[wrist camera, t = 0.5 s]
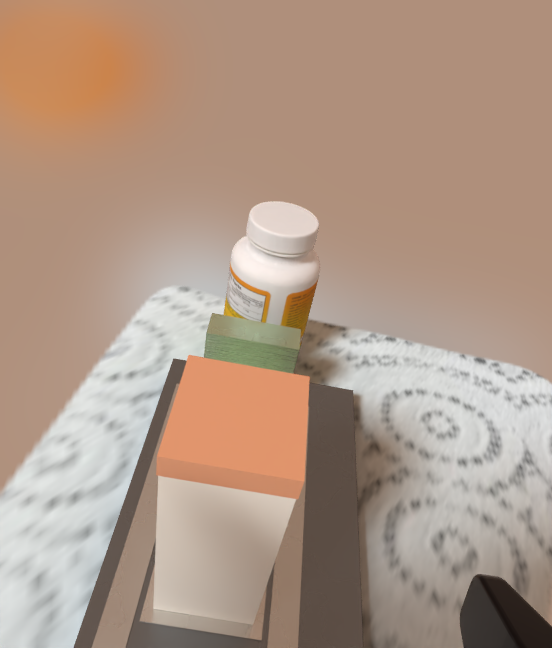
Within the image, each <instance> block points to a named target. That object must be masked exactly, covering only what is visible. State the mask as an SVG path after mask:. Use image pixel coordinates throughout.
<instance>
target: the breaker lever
mask: <svg viewBox="0 0 552 648" xmlns="http://www.w3.org/2000/svg"><path fill="white" fill-rule="evenodd" d="M309 379H310V377H309V376H303V375H298V374H292V373H287V372H281V371H275V370H270V369H264V368H259V367H253V366H248V365H242V364H236V363H231V362H225V361H220V360H214V359H208V358H203V357H197V356H192V355H189V356H188V359H187V362H186V365H185V368H184V372H183V375H182V378H181V381H180V384H179V387H178V391H177V394H176V397H175V400H174V403H173V407H172V410H171V413H170V416H169V419H168V422H167V426H166V429H165V432H164V435H163V438H162V441H161V445H160V448H159V451H158V454H157V465H156V475H157V476H158V497H157V523H156V549H155V575H154V601H153V609H158V610H164V611H170V612H177V613H183V614H189V615H195V616H202V617H208V618H214V619H220V620H227V621H233V622H239V623H246V624H252V625H253V623H254V621H255V618H256V615H257V612H258V609H259V606H260V603H261V600H262V597H263V594H264V591H265V588H266V586H267V583H268V580H269V577H270V574H271V571H272V568H273V565H274V562H275V559H276V556H277V553H278V551H279V548H280V545H281V542H282V539H283V536H284V533H285V530H286V527H287V524H288V521H289V518H290V516H291V513H292V510H293V507H294V504H295V501H296V499H299V496H300V493H301V490H302V487H303V484H304V481H305V461H306V440H307V420H308V400H309Z"/></svg>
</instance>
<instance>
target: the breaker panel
mask: <svg viewBox="0 0 552 648" xmlns="http://www.w3.org/2000/svg"><path fill="white" fill-rule="evenodd" d="M300 336H301V329H297V328H291V327H286V326H280V325H275V324H269V323H264V322H258V321H253V320H247V319H242V318H236V317H231V316H225V315H220V314H215V313H212V316H211V319H210V323H209V326H208V330H207V334H206V343H205V352H204V358H208V359H214V360H220V361H225V362H231V363H236V364H242V365H248V366H253V367H259V368H264V369H270V370H275V371H281V372H287V373H292V374H293V372H294V369H295V365H296V361H297V357H298V353H299V350H300ZM186 362H187V361H185V360H179V359H173V362H172V364H171V367H170V370H169V373H168V376H167V379H166V382H165V385H164V388H163V391H162V393H161V396H160V399H159V402H158V405H157V408H156V411H155V414H154V417H153V419H152V422H151V425H150V428H149V431H148V434H147V437H146V440H145V443H144V445H143V448H142V451H141V454H140V457H139V460H138V463H137V466H136V469H135V472H134V474H133V477H132V480H131V483H130V486H129V489H128V492H127V495H126V498H125V500H124V503H123V506H122V509H121V512H120V515H119V518H118V521H117V524H116V526H115V529H114V532H113V535H112V538H111V541H110V544H109V547H108V550H107V553H106V555H105V558H104V561H103V564H102V567H101V570H100V573H99V576H98V579H97V581H96V584H95V587H94V590H93V593H92V596H91V599H90V602H89V605H88V608H87V610H86V613H85V616H84V619H83V622H82V625H81V628H80V631H79V634H78V636H77V639H76V642H75V645H74V648H363V631H362V606H361V581H360V556H359V531H358V506H357V481H356V456H355V431H354V406H353V390H347V389H342V388H336V387H330V386H325V385H319V384H314V383H309V400H308V420H307V440H306V461H305V481H304V484H303V487H302V490H301V493H300V496H299V499H296V501H295V504H294V507H293V510H292V513H291V516H290V518H289V521H288V524H287V527H286V530H285V533H284V536H283V539H282V542H281V545H280V548H279V551H278V553H277V556H276V559H275V562H274V565H273V568H272V571H271V574H270V577H269V580H268V583H267V586H266V588H265V591H264V594H263V597H262V600H261V603H260V606H259V609H258V612H257V615H256V618H255V621H254V623H253V625H252V624H246V623H239V622H233V621H227V620H220V619H214V618H208V617H202V616H195V615H189V614H183V613H177V612H170V611H164V610H158V609H153V601H154V575H155V549H156V523H157V497H158V476H157V475H156V465H157V454H158V451H159V448H160V445H161V441H162V438H163V435H164V432H165V429H166V426H167V422H168V419H169V416H170V413H171V410H172V407H173V403H174V400H175V397H176V394H177V391H178V387H179V384H180V381H181V378H182V375H183V372H184V368H185V365H186Z"/></svg>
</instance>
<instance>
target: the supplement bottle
mask: <svg viewBox="0 0 552 648" xmlns="http://www.w3.org/2000/svg"><path fill="white" fill-rule="evenodd" d="M318 229H319V222H318V220H317V218H316V217H315V216H314V215H313V214H312V213H311V212H310V211H308V210H306V209H305V208H303V207H300V206H297V205H294V204H291V203H286V202H273V201H272V202H264V203H261V204H258V205H256V206H254V207H253V208H252V209H251V211H250V214H249V219H248V224H247V230H246V231H247V235H246V236H244V237H243V238H241V239H240V240H239V241H238V242H237V243H236V245H235V246H234V248H233V251H232V255H231V260H230V269H229V278H228V286H227V293H226V301H225V309H224V315H225V316H231V317H236V318H242V319H247V320H253V321H258V322H264V323H269V324H275V325H280V326H286V327H291V328H297V329H301V336H300V346H301V343H302V339H303V335H304V331H305V327H306V323H307V320H308V316H309V312H310V308H311V304H312V301H313V297H314V293H315V289H316V285H317V282H318V277H319V272H320V261H319V258H318V256H317V254H316V253H315V251H314V250H313V247H314V245H315V242H316V238H317V233H318Z"/></svg>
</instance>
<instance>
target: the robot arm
mask: <svg viewBox="0 0 552 648" xmlns="http://www.w3.org/2000/svg"><path fill="white" fill-rule="evenodd" d="M460 627H461V634H462V640H463V646H464V648H552V626H551V625H550V624H549V623H548V622H547V621H546V620H545V619H544V618H542V617H541V616H540V615H539V614H538V613H537V612H536V611H535V610H534V609H533V608H532V607H531V606H530V605H529V604H528V603H527V602H526V601H525V600H524V599H523V598H522V597H521V596H520V595H519V594H518V593H517V592H516V591H515V590H514V589H513V588H512V587H511V586H510V585H509V584H508V583H507V582H506V581H505V580H503V579H502V578H500V577H496V576H489V575H483V574H478V575H476V576H474V578H473V579H472V581H471V584H470V587H469V590H468V592H467V595H466V598H465V600H464V603H463V606H462V609H461V613H460Z"/></svg>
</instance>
